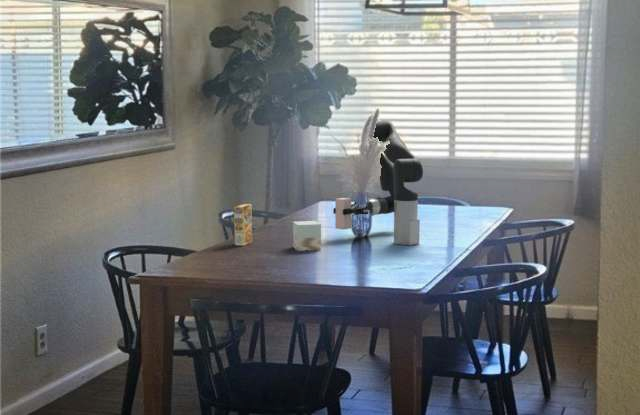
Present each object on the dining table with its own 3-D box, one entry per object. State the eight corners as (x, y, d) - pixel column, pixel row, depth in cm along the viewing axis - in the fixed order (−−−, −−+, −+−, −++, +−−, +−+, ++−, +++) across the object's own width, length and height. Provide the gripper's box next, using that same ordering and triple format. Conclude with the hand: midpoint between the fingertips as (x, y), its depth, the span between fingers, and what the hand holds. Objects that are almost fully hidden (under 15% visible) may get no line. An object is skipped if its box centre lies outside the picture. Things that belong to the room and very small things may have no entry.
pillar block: (351, 228, 384) (351, 198, 382) (343, 229, 380) (343, 199, 379) (343, 227, 387) (342, 197, 385) (335, 228, 383) (335, 198, 382)
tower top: (316, 233, 368) (315, 220, 368) (321, 237, 360) (321, 224, 359) (293, 234, 366) (293, 221, 366) (297, 238, 358) (297, 225, 357)
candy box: (244, 246, 369) (243, 206, 367) (234, 245, 370) (233, 206, 368) (252, 242, 377) (252, 204, 375) (242, 241, 378) (242, 203, 376)
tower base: (316, 246, 369) (316, 233, 368) (320, 250, 360) (320, 237, 359) (293, 247, 367) (293, 234, 366) (297, 251, 358) (297, 238, 358)
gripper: (353, 197, 397) (325, 200, 385) (380, 199, 387) (352, 203, 375) (353, 215, 398) (325, 219, 386) (380, 218, 388) (352, 222, 376)
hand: (338, 211), depth 381 cm, fingers closed on pillar block, 4 cm apart
